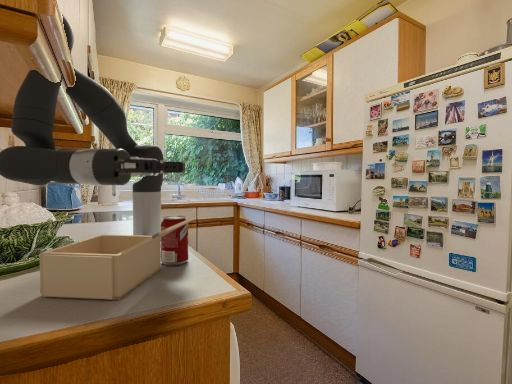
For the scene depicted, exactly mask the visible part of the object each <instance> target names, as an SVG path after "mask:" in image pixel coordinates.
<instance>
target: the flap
mask: <svg viewBox="0 0 512 384" xmlns="http://www.w3.org/2000/svg"><path fill="white" fill-rule="evenodd" d="M195 219H197V218H196V216H193V217H190V218H188V219H186V220H185V221H183V222H181V223H178V224H176V225H174V226H171V227H169V228H167V229H165V230H163V231H161V232H159V233H157V234H155V235H153V236H152V237H150V238H148V239H146V240H144V241H142V242H140V243H138V244H137V245H135V246H133V247H131V248H129V249H127V250H125V251H124V252H122V253H121V254H122V255H124V254H126V253H128V252H130V251H133V250H135V249H137V248H139V247H141V246H143V245H145V244H147V243H149V242H152V241H154V240H156V239H158V238H160V237H162V236H164V235H166V234H168V233H169V232H171V231H173V230H175V229H177V228H179V227H181V226H183V225H185V224H187V223H188V224H189V223H190V222H192V221H195Z"/></svg>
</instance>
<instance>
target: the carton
mask: <svg viewBox="0 0 512 384" xmlns="http://www.w3.org/2000/svg"><path fill="white" fill-rule="evenodd" d="M150 237H152V236H137V235H133V234H131V235H130V234H129V235H128V234H126V235H125V234H100V235H96V236H93V237H89V238H86V239H82V240H80V241H79V240H78V241H76V242H73V243H69V244H65V245H63V246H59V247H56V248H52V249H49V250H47V251H43V252H40V253H39V255H38V256H39V283H40V284H39V286H40V294H41V297H42V298H43V297H44V298H61V299H84V300H85V299H86V300H103V301H104V300H105V301H107V300H109V301H120V300H121V299H123V298H124V297H125V296H127V295H128V294H130V293H131V292H132V291H133V290H135V289H136V288H138V287H140V285H142V284H143V283H144V282H146V281H147V280H148V279H150V278H151V277H152V276H154V275H155V274H157V273H158V272H159V271H161V270H162V269H161V267H162V266H161V264H162V262H161V240H160V238H158V239H156V240H154V241H152V242H149V243H147V244H145V245H143V246H141V247H139V248H137V249H135V250H133V251H130V252H128V253H126V254H124V255H122V254H121V253H122V252H124V251H125V250H127V249H129V248H131V247H133V246H135V245H137V244H138V243H140V242H142V241H144V240H146V239H148V238H150Z"/></svg>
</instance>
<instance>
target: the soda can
mask: <svg viewBox="0 0 512 384" xmlns="http://www.w3.org/2000/svg"><path fill="white" fill-rule="evenodd" d="M162 217H163V219H162V220H161V231H163V230H165V229H167V228H169V227H171V226H174V225H176V224H178V223H181V222H183V221H185V220H187V219H186V218H187V217H186V215H183V214H182V215H178V214H177V215H175V214H174V215H172V214H171V215H165V216H162ZM160 241H161V264H164V265H166V266H169V267H170V266H171V267H174V266H175V267H176V266H182V265H184V264H185V263H186V262H188V261H189V222H188V223H187V224H185V225H183V226H181V227H179V228H177V229H175V230H173V231H171V232H169V233H168V234H166V235H164V236H162V237H161V240H160Z"/></svg>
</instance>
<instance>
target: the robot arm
mask: <svg viewBox="0 0 512 384" xmlns="http://www.w3.org/2000/svg"><path fill="white" fill-rule="evenodd" d="M62 16H63V24H64V30H65V33H66V37H67V42H68V47H69V50H70V55H71V53H72V51H73V48H74V43H75V35H74V31H73V28H72V25H71V24H70V21H69V20H68V18H66V16H65V15H64V14H63V13H62ZM73 67H74V71H75V76H76V81H75V85H74V86H73V87H67V89H66V92H65V93H66V94H67V95H68V96H69V98H71V100H72V101H73V102H74V103H75V104H76V106H78V107H79V108H80V109H81V111H82V112H83V113H84V115H85V116H86V117H87V118H88V119H89V120H90V121H91V122H92V123H93V124H94V125H95V127H96V128H98V130H99V131H100V132H101V133H102V134H103V135H104V137H106V139H107V140H108V141H109V142H110V143H111V144H112V146H113V148H86V149H63V150H59V149H56V143H55V139H54V136H53V135H54V134H53V133H54V126H55V117H56V109H57V102H58V96H59V92H60V89H61V87H60V86H61V82H62V79H63V76H61V80H60V82H57V83H54V82H51V81H49V80H48V79H46V78H45V77H44V76H43V75H41V74H40V73H39V72H38V71H36V70H30V69H29V70H30V71H29V70H28V72H27V75H25V78H24V79H23V81H22V83H21V85H20V87H19V89H18V91H17V93H16V95H15V100H14V103H13V104H14V105H13V109H12V118H11V125H10V127H11V128H10V129H11V133H12V134H13V135H14V136H15V137H16V138H18V139H19V140H21V142H22V143H23V144H24V145H13V146H9V147H6V148H4V149H2V150H0V176H1V177H3V178H5V179H6V180H10V181H13V182H18V183H22V184H29V185H33V186H45V185H48V184H50V183H51V182H55V183H61V184H69V185H70V184H80V185H81V184H83V185H84V184H85V185H90V186H125V185H127V184H128V183H129V181H131V179H132V177H134V178H138V177H139V178H141V179H139V180H138V181H136V182H134V183H133V184H132V235H137V236H153V235H155V234H157V233H159V232H161V223H162V185H163V184H164V183H163V182H164V175H168V174H170V173H171V174H172V173H173V174H179V173H180V174H183V173H185V172H186V163H185V162H184V161H166V160H165V159H164V158H165V157H164V154H163V151H162V149H161V148H160V147H159V146H158V145H153V144H148V145H147V144H146V145H140V144H138V143H137V142H136V141H135V140H134V139H133V137H132V136H131V135H130V133H129V130H128V125H127V124H128V123H127V116H126V113H125V111H124V109H123V107H122V105H121V104H120V102H119V101H118V100H117V98H116V97H115V96H114V95H113V94H112V93H111V92H110V91H109V89H107V88H106V87H105V86H103V85H102V84H101V83H99V82H97V81H96V80H94V79H93V78H91V77H90V76H88V75H86V74H85V73H83V72H81V70H79V69H78V68H76V67H75V66H74V65H73ZM160 241H161V237H160Z"/></svg>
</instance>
